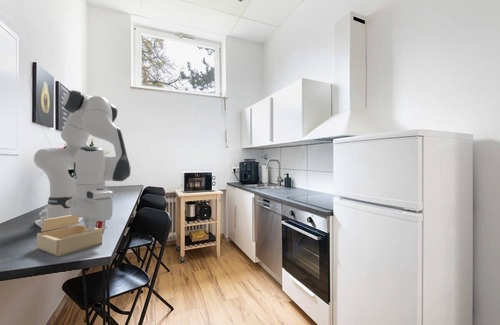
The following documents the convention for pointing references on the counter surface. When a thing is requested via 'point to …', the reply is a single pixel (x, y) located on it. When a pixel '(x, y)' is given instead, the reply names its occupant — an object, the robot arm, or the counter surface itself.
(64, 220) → the flap rear
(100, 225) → the soda can
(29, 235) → the counter surface
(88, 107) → the robot arm
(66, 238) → the flap front
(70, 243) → the carton
